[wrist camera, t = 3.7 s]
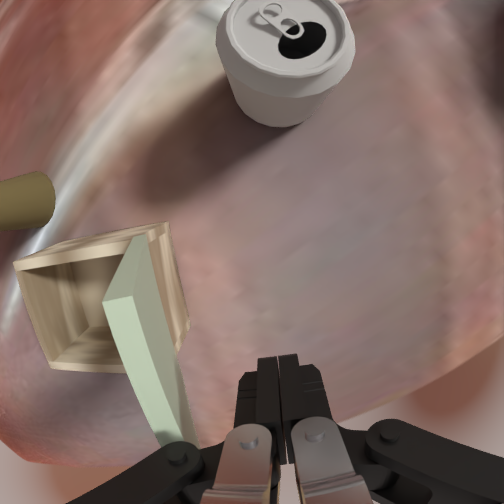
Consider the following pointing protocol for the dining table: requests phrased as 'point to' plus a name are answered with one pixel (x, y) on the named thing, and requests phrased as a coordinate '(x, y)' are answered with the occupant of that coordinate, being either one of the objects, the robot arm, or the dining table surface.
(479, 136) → the dining table surface
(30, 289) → the box
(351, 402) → the dining table surface
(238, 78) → the can
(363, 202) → the dining table surface
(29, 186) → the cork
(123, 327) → the lid
